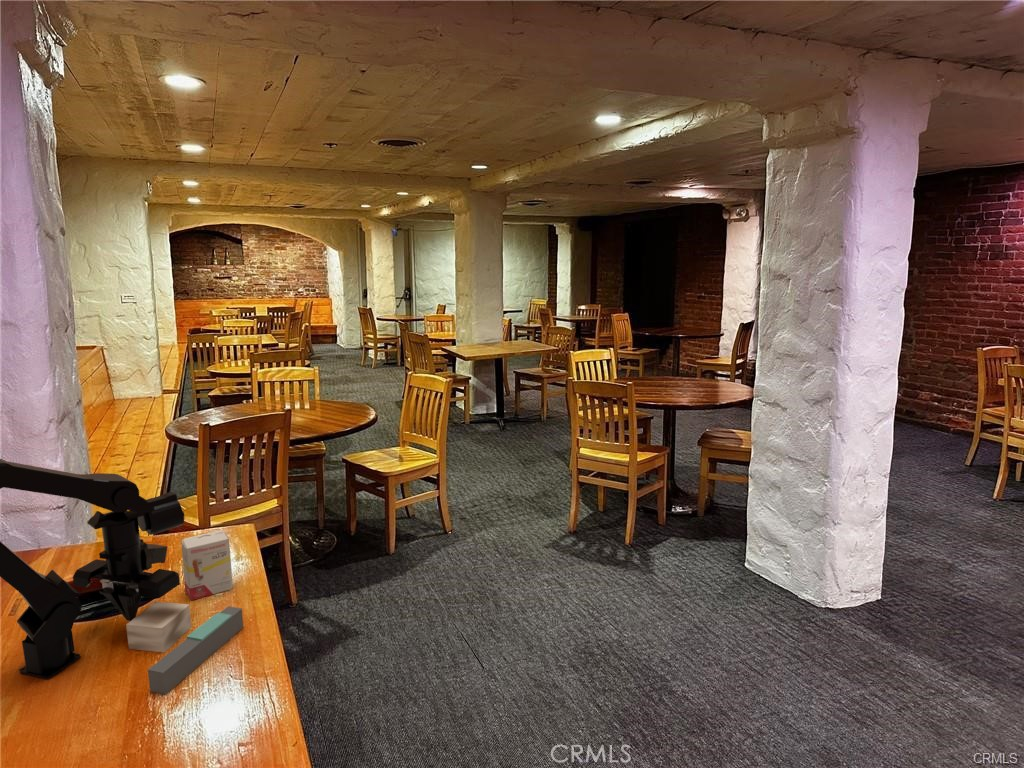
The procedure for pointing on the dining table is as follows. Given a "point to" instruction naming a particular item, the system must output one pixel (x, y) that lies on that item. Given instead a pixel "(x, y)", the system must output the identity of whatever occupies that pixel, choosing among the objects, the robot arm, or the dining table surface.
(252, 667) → the dining table surface
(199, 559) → the ink box
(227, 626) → the dark bar
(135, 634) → the pale block
